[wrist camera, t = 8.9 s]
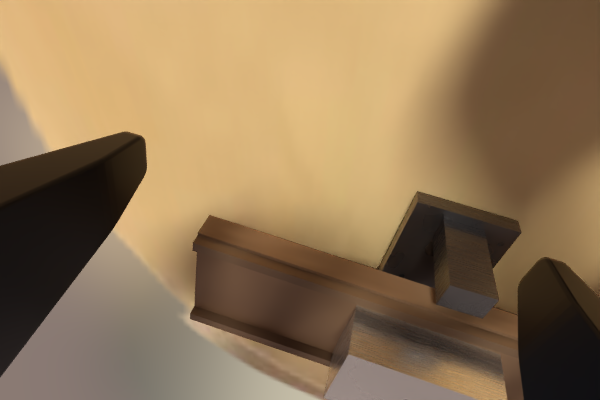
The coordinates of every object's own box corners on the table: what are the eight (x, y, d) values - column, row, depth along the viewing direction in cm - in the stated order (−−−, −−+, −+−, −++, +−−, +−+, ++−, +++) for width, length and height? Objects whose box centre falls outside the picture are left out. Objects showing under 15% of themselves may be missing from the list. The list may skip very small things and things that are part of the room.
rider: (500, 354, 21) (509, 410, 19) (457, 394, 25) (460, 446, 22) (356, 305, 22) (348, 354, 20) (332, 351, 25) (323, 397, 23)
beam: (716, 372, 21) (744, 419, 19) (610, 430, 26) (624, 471, 24) (211, 209, 23) (193, 237, 21) (205, 293, 28) (189, 322, 26)
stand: (517, 221, 23) (543, 304, 19) (428, 338, 32) (430, 416, 27) (417, 191, 24) (418, 266, 19) (354, 315, 32) (344, 388, 27)
